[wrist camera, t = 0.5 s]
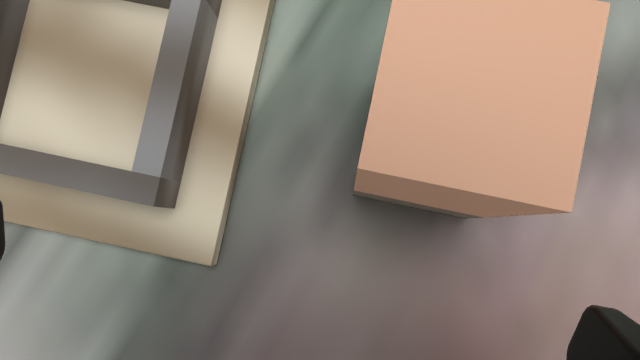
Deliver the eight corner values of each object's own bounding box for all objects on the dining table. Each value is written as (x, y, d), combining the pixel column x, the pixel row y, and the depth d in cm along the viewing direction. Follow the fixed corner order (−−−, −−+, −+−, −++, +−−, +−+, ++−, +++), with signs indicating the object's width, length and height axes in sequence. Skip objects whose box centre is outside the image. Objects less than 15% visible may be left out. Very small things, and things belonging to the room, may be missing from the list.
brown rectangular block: (465, 218, 23) (571, 212, 12) (353, 194, 23) (357, 168, 12) (487, 106, 23) (610, 3, 12) (375, 84, 24) (399, -36, 13)
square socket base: (216, 264, 23) (193, 271, 20) (-75, 200, 24) (-146, 196, 21) (282, -32, 24) (271, -75, 21) (-2, -85, 25) (-59, -136, 21)
